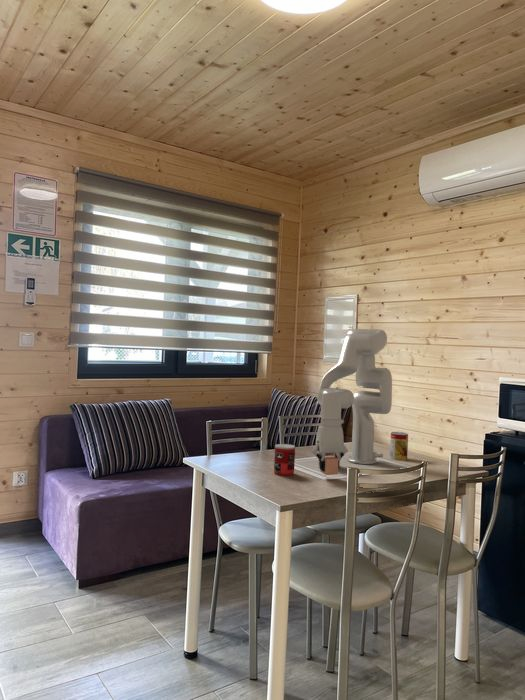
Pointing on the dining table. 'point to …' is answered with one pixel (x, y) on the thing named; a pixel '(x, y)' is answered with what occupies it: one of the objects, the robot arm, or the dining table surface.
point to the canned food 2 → (399, 446)
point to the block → (331, 465)
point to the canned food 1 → (284, 459)
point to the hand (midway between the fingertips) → (329, 469)
